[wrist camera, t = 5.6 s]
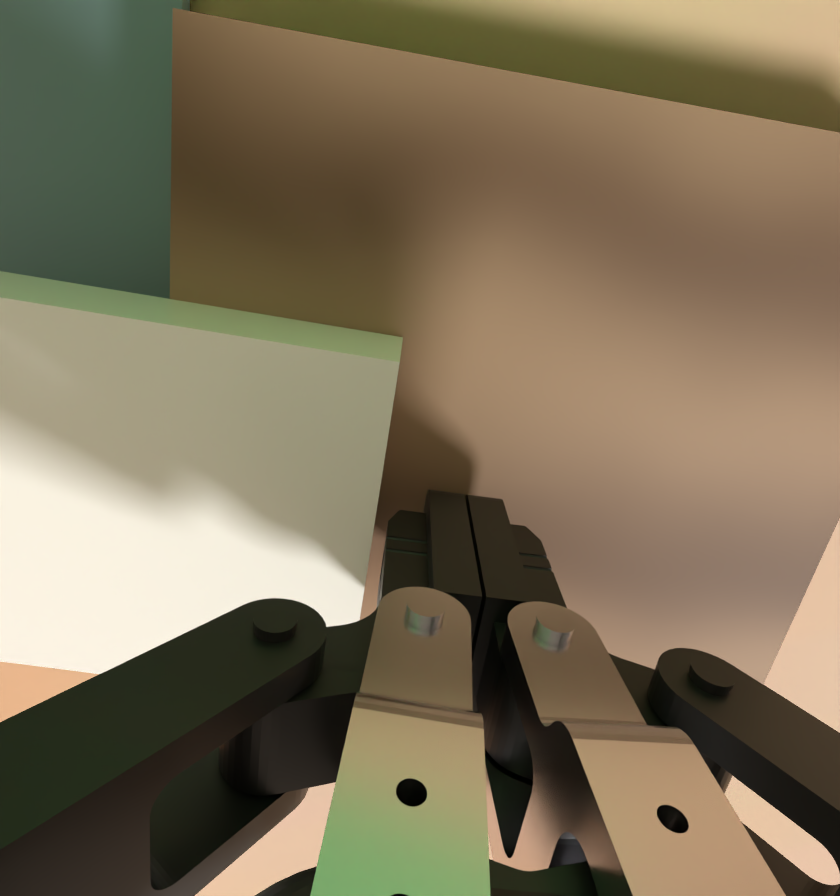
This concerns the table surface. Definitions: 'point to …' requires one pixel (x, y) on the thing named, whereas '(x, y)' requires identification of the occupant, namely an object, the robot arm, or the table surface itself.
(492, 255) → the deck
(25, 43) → the mat
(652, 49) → the table surface
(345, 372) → the tile
